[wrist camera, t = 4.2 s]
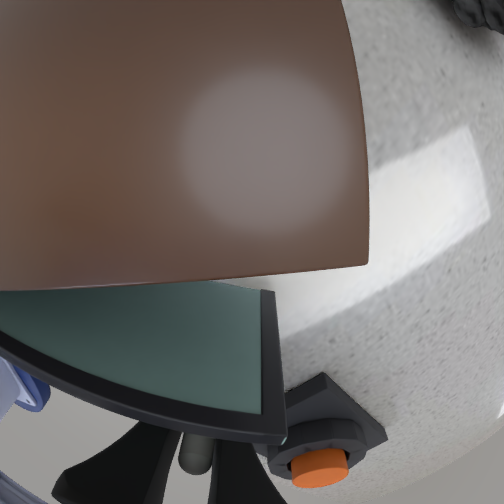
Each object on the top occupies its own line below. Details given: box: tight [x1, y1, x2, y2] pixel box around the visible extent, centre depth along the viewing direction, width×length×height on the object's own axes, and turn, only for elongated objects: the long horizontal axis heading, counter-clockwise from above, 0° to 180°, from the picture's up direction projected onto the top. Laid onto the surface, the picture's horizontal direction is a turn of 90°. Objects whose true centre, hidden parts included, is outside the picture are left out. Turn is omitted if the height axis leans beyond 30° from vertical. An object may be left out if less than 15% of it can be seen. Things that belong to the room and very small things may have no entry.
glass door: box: [0, 281, 288, 475], centre depth 9 cm, size 5×13×7 cm, turn 79°
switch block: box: [252, 373, 388, 480], centre depth 15 cm, size 10×8×3 cm
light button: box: [291, 448, 349, 488], centre depth 13 cm, size 4×4×2 cm
